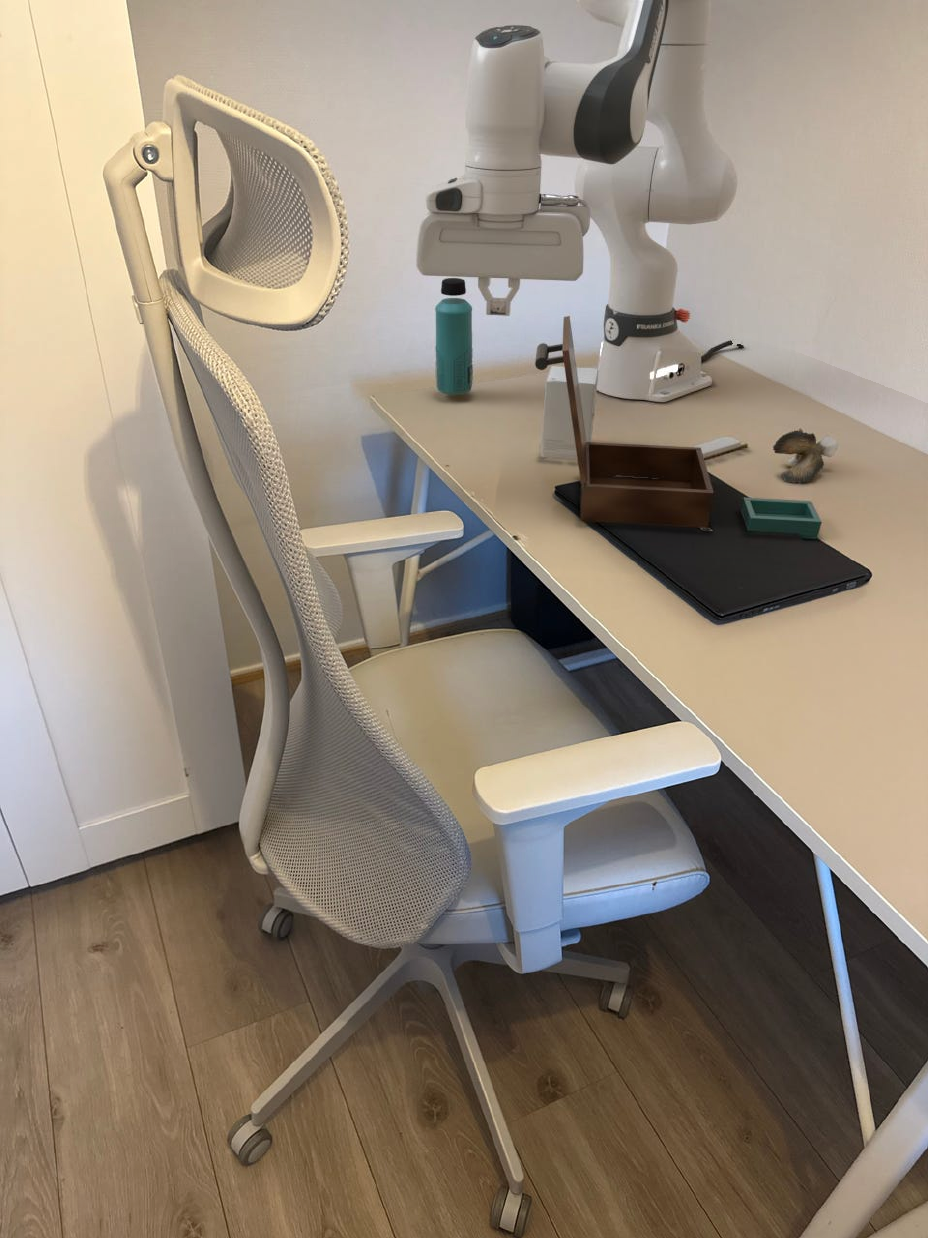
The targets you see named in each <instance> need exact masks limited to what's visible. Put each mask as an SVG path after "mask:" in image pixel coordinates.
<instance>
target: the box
mask: <svg viewBox="0 0 928 1238" xmlns="http://www.w3.org/2000/svg"><path fill="white" fill-rule="evenodd" d="M586 456H587V482H585V483H581V480H580V479H579V483H581V494H580V493H579V494H580V495H581V496H580V495H579V499H580V500H579V501H580V502H579V503H580V504H579V505H580V507H579V508H580V522H597V523H598V522H599V523H600V522H601V523H616V524H617V523H618V524H631V525H633V524H634V525H651V526H667V527H668V526H669V527H672V526H673V527H685V528H708V527H709V523H710V517H711V511H712V506H713V500H714V495H715V493H714V488H713V485H712V482H711V478H710V475H709V471H708V467H707V465H706V464H707V463H706V460H704V457H703V454H702V450H701V448H698V447H693V446H676V445H675V446H674V445H656V444H655V445H654V444H637V443H636V444H635V443H633V444H632V443H615V442H595V441H594V442H593V441H591V442H586ZM616 475H622V476H634V477H648V478H633V477H614V476H616ZM652 478H658V479H652Z"/></svg>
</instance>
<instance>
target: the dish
mask: <svg viewBox="0 0 928 1238" xmlns="http://www.w3.org/2000/svg"><path fill="white" fill-rule="evenodd" d="M740 511H741V514H742V517H743V520H744V523H745V526H746V529H747V531H751V532H753V531H754V532H770V533H784V534H785V533H786V534H799V536H800V539H806V540H807V539H808V540H818V537H819V533H820V530H821V526H822V520H821V517H820V516H819V514H818V511H817V509H816V507H815V505H814V503H813V501H812V500H798V499H780V498H779V499H778V498H764V497H763V498H760V497H743V498H742V504H741V507H740Z"/></svg>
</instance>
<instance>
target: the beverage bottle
mask: <svg viewBox="0 0 928 1238" xmlns="http://www.w3.org/2000/svg"><path fill="white" fill-rule="evenodd" d="M466 292H467V289H466V281H465V279H463V278H461V277H449V278H444V279H442V281H441V289H440V293H441V295H445V296H449V297H447V298H442V299H441V300H440V301H439V302H438V303H437V304H436V305H435V307H434V311H435V341H434V342H435V349H434V350H435V362H434V363H435V364H434V365H435V375H436V378H435V384H436V389H437V391H438V392H439V393H442V394H447V395H454V396H455V395H463V394H467V393H469V392H470V391H472V387H473V384H474V382H473V380H474V376H473V374H474V373H473V371H474V369H473V368H474V364H473V362H474V360H473V358H474V357H473V354H474V350H473V349H474V347H473V306H472V305H471V304H470V302H469V301H467V300H466V299H465V298H461V297H459V296H463V295H465V294H467V293H466ZM457 296H458V297H457Z"/></svg>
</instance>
